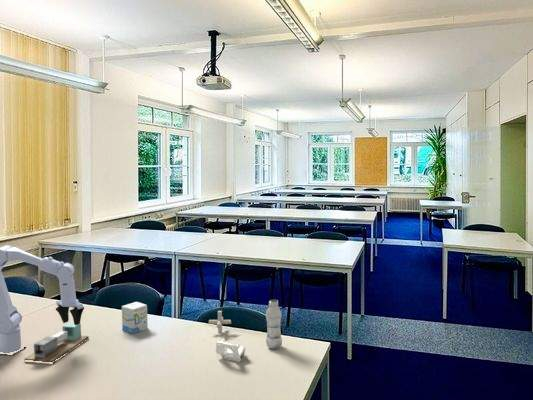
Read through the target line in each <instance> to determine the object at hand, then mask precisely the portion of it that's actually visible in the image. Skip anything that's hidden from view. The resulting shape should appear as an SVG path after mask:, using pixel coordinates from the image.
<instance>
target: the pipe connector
mask: <svg viewBox="0 0 533 400" xmlns="http://www.w3.org/2000/svg"><path fill="white" fill-rule="evenodd" d="M222 315H223V310H218V311H217V319H209V320H208V324H209V325H216V328H217V331H218V332H217V333H218V334H222V333H223V325H229V324H230V325H232V320H231V319H224V316H222Z"/></svg>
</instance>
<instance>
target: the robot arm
mask: <svg viewBox="0 0 533 400" xmlns="http://www.w3.org/2000/svg"><path fill="white" fill-rule="evenodd" d="M15 261H21V262H24V263H26V264H29V265H30V264H31V265H34V266H37V267H38V269H39V270H40V271H42V272H45V273H48V274H51V275H54V276H56V278H57V279H58V281H59V282H58V283H59V291H60V293H59V294H60V300H57V301H56V306H57V307H55V311H56V312H57V313H58V314H59V317H60V319H61V321H62V324H67V323H69V319H70V318H69V317H70V316H69V315H70V314H71V316H72V319H73V323H74V324H75V325H78V324H80V323H81V319H82V315H83V311H84V310H85V306H84V305H83V303H81V302H80V301H79V299H77V295H76V293H77V292H76V285H75V279H74V273H75V266H74V265H73V264H71V263H70V262H64V261H59V260H56V259H54V258H53V257H52V256H48V257H47V256H45V257H43V258H42V257H40V256H37V255H34V254H32V253H29V252H27V251H25V250H22V249H20V248H18V247H16V246H12V245H9V244H5V245H3V246H0V352H3V353H10V352H14V351H17V350H19V349H21V346H22V336H21V335H22V334H21V326H20V323H22V320H23V315H22V314H21V313H20V312H19V311H18V309H17V307H16V306H15V305H13V302H12V299H11V296H10V293H9V290H8V287H7V283H6V281H5V277H4V274H3V272H2V270H3V268H4V267H5V266H6V265H7V263H10V262H15ZM70 308H72V309H70Z"/></svg>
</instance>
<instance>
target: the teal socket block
mask: <svg viewBox="0 0 533 400" xmlns="http://www.w3.org/2000/svg"><path fill="white" fill-rule="evenodd" d="M81 325H82V324H81V322H80V324H78V325H75V324H74V322H67V323H65V324H64V325H63V326H62V331H67V337H68V338H67V339H66V340H76V339H78V338H79V337H81V336H82V326H81Z"/></svg>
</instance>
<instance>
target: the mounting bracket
mask: <svg viewBox="0 0 533 400" xmlns="http://www.w3.org/2000/svg"><path fill="white" fill-rule="evenodd" d="M215 346H216V347H215V353H216V354H217V355H220V357H221V359H225V360H228V361H232V362H233V361H234V362H237V363H240V362H241V360H242V358H241V357H245V354H246V347H245V346H242V345H240V344H234V343H230V342H227V340H226V338H222V339H221V340H217V341H216V345H215Z"/></svg>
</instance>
